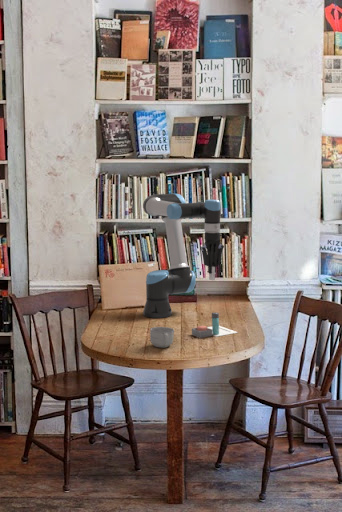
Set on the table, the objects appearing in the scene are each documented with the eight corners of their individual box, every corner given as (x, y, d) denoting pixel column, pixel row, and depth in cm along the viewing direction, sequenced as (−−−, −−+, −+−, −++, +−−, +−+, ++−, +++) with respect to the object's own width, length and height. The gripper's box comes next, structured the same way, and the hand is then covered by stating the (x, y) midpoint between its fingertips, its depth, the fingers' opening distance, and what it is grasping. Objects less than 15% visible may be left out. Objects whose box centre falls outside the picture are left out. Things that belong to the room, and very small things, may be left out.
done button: (194, 333, 354) (194, 326, 353) (203, 332, 356) (203, 325, 356) (200, 336, 349) (200, 329, 349) (209, 334, 352) (209, 327, 352)
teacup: (149, 343, 340) (149, 326, 339) (173, 342, 341) (173, 325, 340) (151, 351, 327) (151, 334, 325) (175, 351, 327) (175, 333, 326)
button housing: (191, 334, 354) (191, 328, 354) (203, 332, 358) (203, 326, 357) (200, 337, 348) (200, 331, 348) (212, 335, 352) (212, 329, 351)
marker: (210, 333, 355) (210, 313, 353) (215, 332, 357) (215, 312, 356) (215, 334, 352) (215, 314, 351) (220, 333, 354) (220, 313, 353)
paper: (196, 329, 363) (196, 328, 363) (218, 325, 370) (218, 325, 370) (216, 336, 350) (216, 336, 350) (237, 332, 357) (237, 332, 357)
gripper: (205, 233, 351) (205, 282, 355) (227, 231, 358) (227, 279, 362) (196, 231, 358) (196, 279, 361) (218, 230, 365) (218, 277, 368)
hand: (211, 279), depth 362 cm, fingers closed
